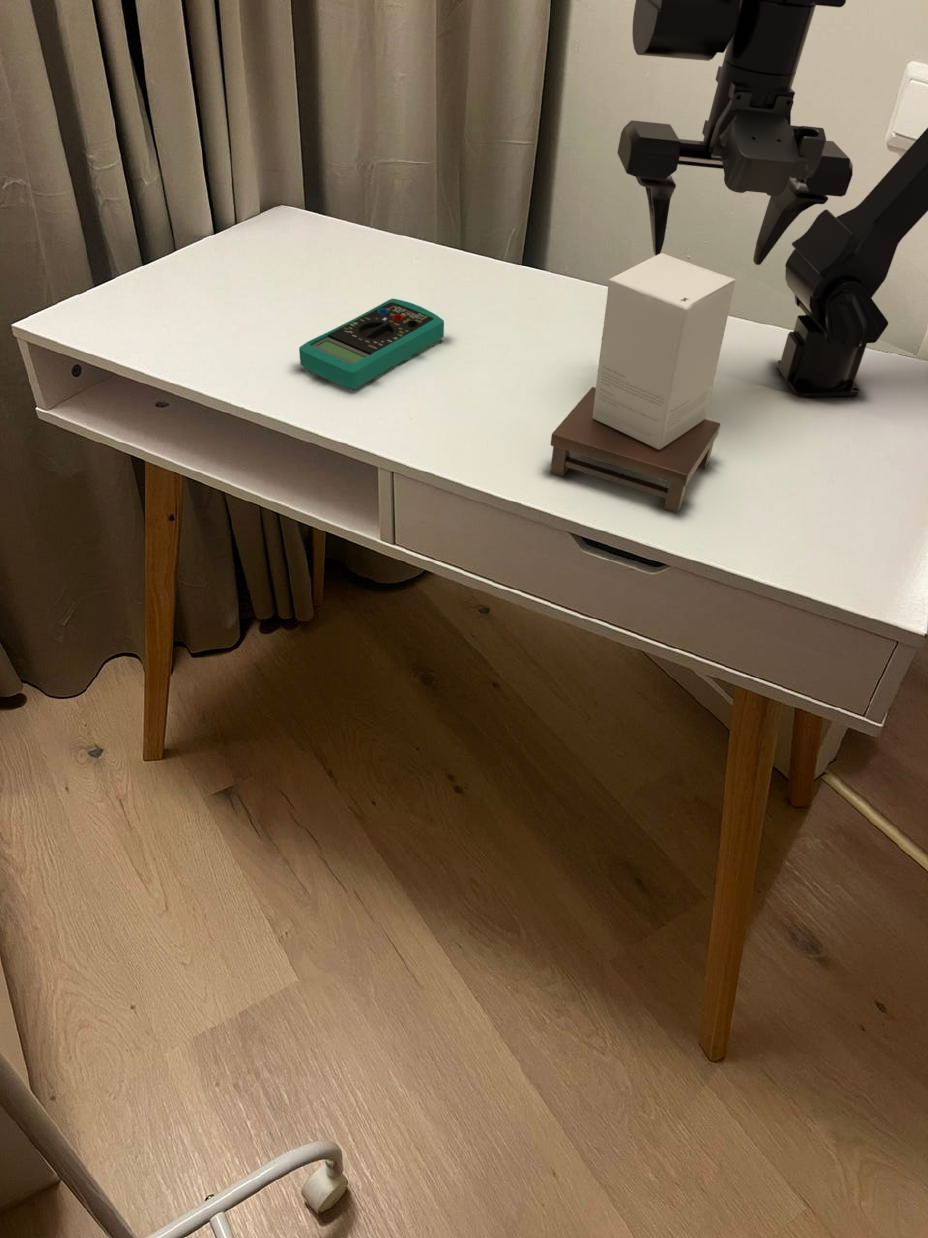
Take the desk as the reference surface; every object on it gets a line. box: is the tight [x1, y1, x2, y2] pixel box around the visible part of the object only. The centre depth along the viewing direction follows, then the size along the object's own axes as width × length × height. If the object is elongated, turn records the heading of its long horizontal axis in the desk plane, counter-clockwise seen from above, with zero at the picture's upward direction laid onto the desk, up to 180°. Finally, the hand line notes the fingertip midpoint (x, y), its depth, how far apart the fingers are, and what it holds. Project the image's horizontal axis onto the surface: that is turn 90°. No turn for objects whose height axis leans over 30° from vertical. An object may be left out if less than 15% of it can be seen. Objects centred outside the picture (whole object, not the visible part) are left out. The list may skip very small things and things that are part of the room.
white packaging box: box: [592, 252, 736, 450], centre depth 81 cm, size 7×7×13 cm
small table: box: [550, 386, 721, 513], centre depth 86 cm, size 12×9×4 cm
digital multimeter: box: [298, 298, 445, 390], centre depth 100 cm, size 7×15×3 cm, turn 143°
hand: (706, 258), depth 89 cm, fingers open, 9 cm apart
